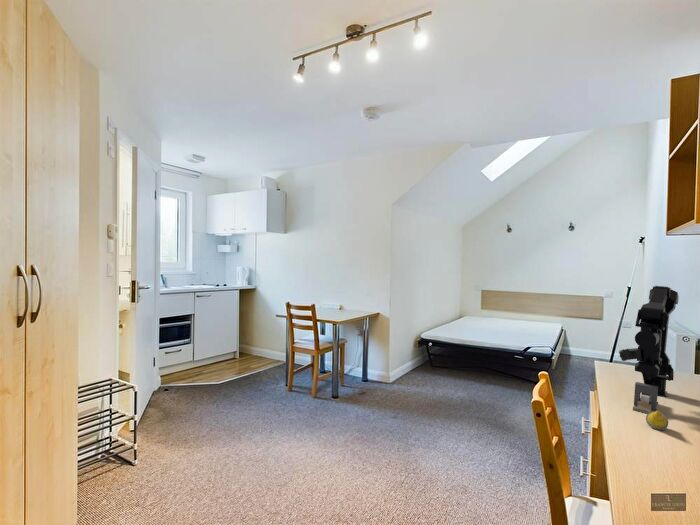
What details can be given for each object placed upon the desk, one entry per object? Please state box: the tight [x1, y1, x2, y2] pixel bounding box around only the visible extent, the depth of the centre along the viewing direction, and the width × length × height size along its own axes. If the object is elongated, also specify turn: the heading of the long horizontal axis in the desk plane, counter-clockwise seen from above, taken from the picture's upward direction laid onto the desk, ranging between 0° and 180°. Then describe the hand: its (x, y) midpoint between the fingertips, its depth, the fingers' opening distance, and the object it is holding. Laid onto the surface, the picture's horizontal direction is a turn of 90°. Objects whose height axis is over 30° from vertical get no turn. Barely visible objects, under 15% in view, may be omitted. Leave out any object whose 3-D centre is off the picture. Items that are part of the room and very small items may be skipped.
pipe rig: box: [632, 393, 659, 415], centre depth 134 cm, size 14×6×5 cm, turn 138°
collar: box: [633, 381, 659, 410], centre depth 131 cm, size 3×6×7 cm, turn 48°
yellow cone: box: [645, 410, 669, 431], centre depth 117 cm, size 5×5×10 cm
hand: (647, 388), depth 133 cm, fingers closed
